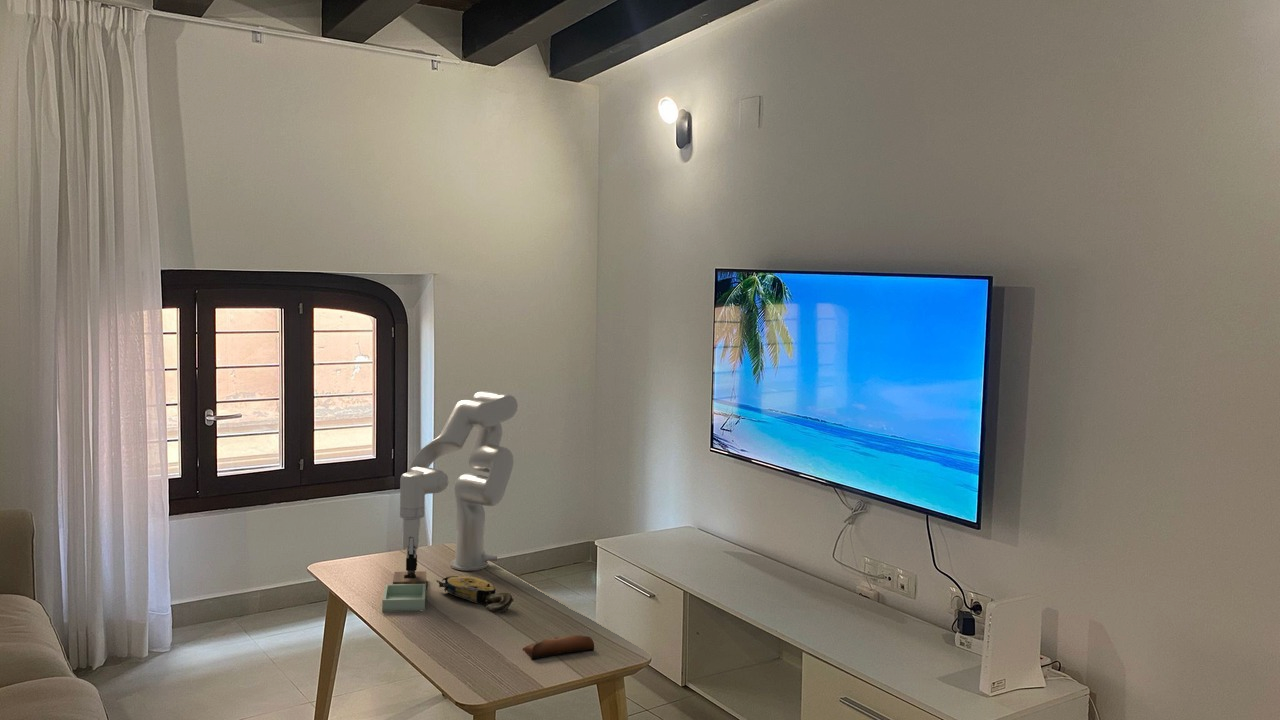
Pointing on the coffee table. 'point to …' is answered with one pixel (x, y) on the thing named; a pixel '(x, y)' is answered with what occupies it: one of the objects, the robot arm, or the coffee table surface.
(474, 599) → the pulley block
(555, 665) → the coffee table surface
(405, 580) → the block
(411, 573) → the pin
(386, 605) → the tray
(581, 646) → the sunglasses case
